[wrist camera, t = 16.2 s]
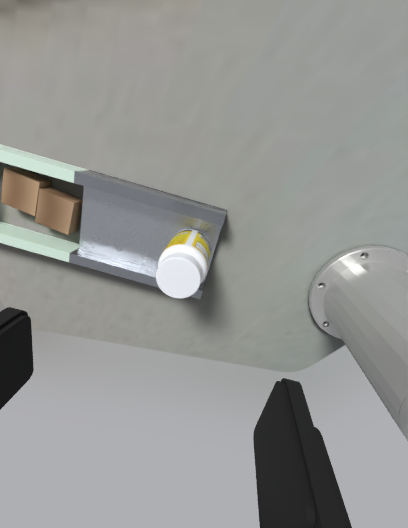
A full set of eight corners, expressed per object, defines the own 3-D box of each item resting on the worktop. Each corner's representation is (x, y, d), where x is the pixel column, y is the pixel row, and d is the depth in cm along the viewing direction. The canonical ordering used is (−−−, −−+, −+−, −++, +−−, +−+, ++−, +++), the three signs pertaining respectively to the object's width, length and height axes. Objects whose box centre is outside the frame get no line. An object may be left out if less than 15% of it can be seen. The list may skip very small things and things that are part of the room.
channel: (226, 209, 28) (226, 215, 26) (202, 287, 32) (200, 299, 30) (89, 170, 28) (74, 171, 25) (82, 253, 32) (69, 262, 29)
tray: (89, 170, 28) (74, 171, 25) (82, 253, 32) (69, 262, 29) (-20, 138, 28) (-48, 135, 25) (-14, 226, 32) (-37, 232, 29)
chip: (52, 181, 29) (39, 182, 27) (47, 212, 31) (34, 216, 29) (19, 167, 29) (3, 167, 27) (16, 199, 31) (0, 202, 29)
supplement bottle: (166, 259, 30) (145, 293, 23) (176, 222, 29) (157, 245, 21) (204, 271, 30) (196, 309, 23) (216, 235, 29) (212, 263, 21)
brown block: (84, 200, 30) (74, 202, 28) (78, 230, 31) (68, 235, 29) (52, 186, 30) (39, 188, 28) (47, 218, 31) (35, 221, 29)
